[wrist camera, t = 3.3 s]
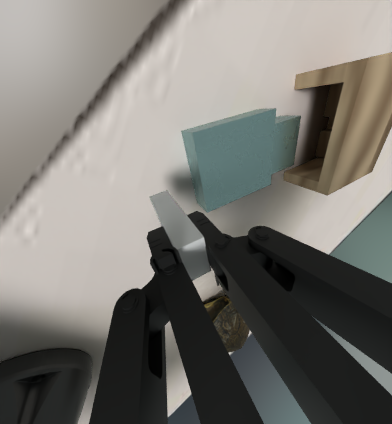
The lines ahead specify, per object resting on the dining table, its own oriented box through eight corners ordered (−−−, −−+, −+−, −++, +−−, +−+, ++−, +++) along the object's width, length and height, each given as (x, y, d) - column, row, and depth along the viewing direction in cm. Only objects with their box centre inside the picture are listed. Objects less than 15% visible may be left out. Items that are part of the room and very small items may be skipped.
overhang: (283, 180, 28) (327, 195, 22) (296, 74, 20) (368, 57, 14) (323, 162, 30) (372, 171, 25) (349, 62, 23) (427, 44, 17)
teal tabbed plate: (196, 202, 22) (207, 212, 20) (180, 130, 17) (192, 132, 15) (275, 169, 26) (292, 174, 24) (281, 102, 21) (303, 100, 19)
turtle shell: (224, 365, 42) (186, 392, 27) (205, 328, 48) (165, 334, 33) (272, 322, 42) (260, 325, 27) (247, 291, 48) (226, 279, 33)
